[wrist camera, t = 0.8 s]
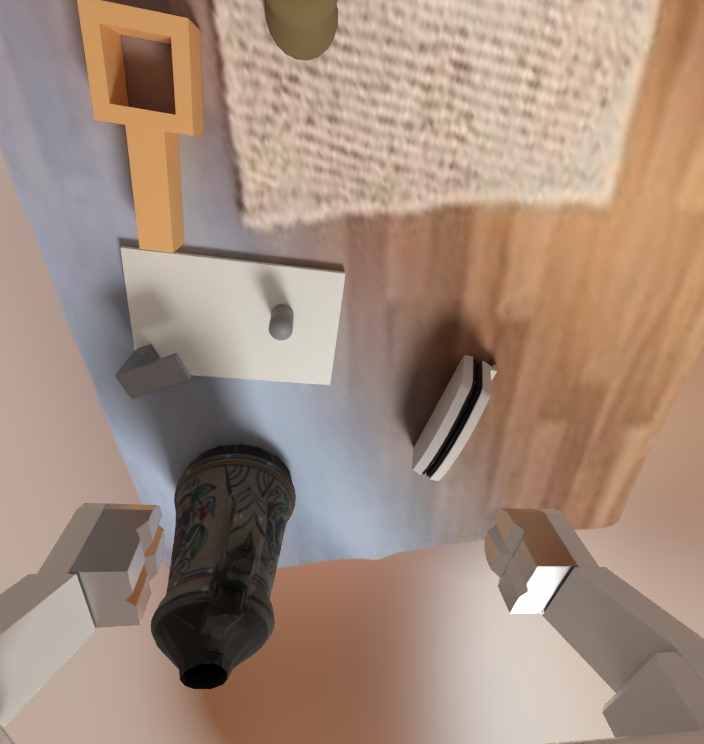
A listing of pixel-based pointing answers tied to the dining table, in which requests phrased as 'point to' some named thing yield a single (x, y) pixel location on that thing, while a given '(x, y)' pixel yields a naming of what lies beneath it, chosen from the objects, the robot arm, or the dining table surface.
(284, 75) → the dining table surface
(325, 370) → the board
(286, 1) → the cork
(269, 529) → the beer stein
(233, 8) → the dining table surface
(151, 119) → the link
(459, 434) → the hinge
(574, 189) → the dining table surface
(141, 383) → the bracket
